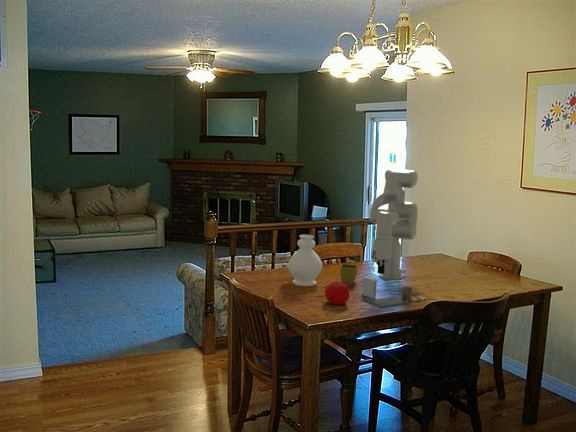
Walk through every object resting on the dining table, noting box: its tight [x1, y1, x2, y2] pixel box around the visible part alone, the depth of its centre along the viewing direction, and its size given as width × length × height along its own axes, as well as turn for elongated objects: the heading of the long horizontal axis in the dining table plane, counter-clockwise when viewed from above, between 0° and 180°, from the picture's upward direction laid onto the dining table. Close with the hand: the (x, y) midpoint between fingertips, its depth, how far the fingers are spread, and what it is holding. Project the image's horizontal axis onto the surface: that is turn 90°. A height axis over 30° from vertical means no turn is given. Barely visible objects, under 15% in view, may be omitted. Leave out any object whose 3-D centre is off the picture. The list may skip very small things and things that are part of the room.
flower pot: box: [339, 263, 359, 285], centre depth 329 cm, size 9×9×9 cm
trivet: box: [367, 295, 409, 309], centre depth 295 cm, size 16×10×1 cm, turn 123°
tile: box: [361, 276, 378, 300], centre depth 305 cm, size 2×8×9 cm, turn 33°
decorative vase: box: [287, 234, 323, 287], centre depth 324 cm, size 18×18×25 cm
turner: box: [401, 285, 427, 302], centre depth 303 cm, size 12×5×7 cm, turn 123°
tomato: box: [324, 281, 350, 306], centre depth 291 cm, size 12×12×10 cm
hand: (380, 273), depth 307 cm, fingers closed
